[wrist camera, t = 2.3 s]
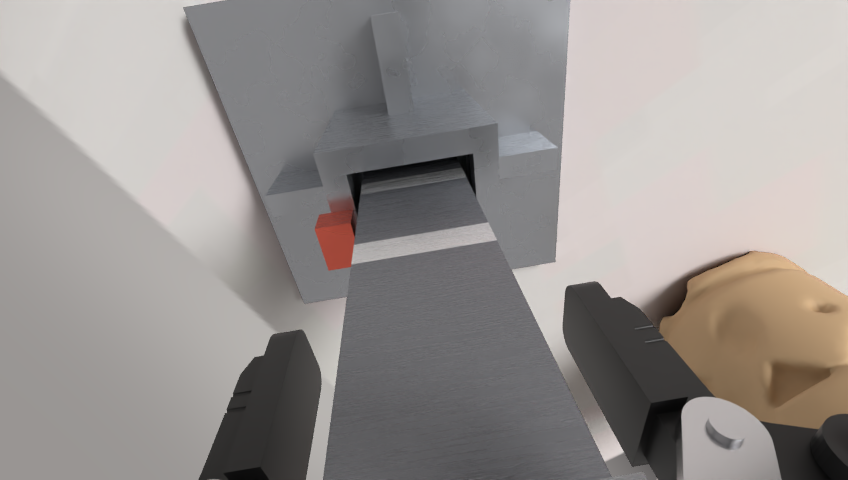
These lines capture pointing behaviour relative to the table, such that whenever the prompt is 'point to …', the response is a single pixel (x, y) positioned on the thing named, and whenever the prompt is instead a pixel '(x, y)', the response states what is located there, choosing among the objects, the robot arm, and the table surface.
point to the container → (766, 339)
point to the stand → (391, 112)
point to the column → (445, 348)
